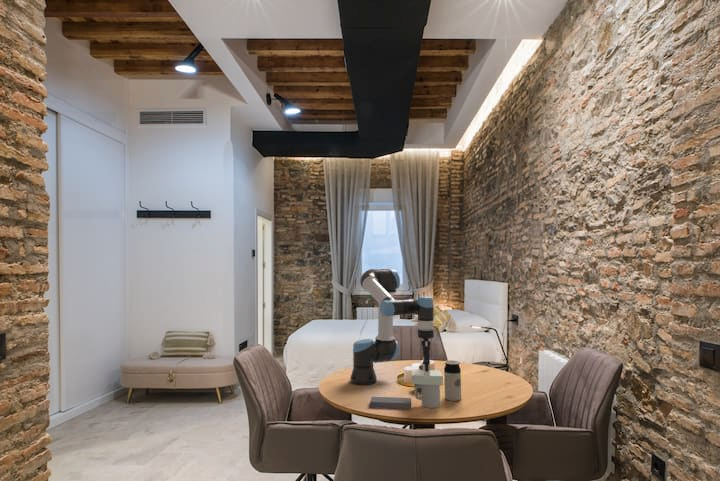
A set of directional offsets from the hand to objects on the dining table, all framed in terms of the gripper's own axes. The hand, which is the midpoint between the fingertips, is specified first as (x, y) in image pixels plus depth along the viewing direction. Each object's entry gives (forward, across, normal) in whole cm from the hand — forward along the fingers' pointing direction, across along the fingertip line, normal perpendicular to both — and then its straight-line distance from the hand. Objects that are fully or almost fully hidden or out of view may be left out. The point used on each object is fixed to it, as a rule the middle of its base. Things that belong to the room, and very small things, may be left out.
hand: (426, 374), depth 193 cm
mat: (+14, -2, +17) cm, 22 cm away
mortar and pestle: (+15, +24, +2) cm, 29 cm away
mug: (+14, 0, 0) cm, 14 cm away
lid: (+3, 0, 0) cm, 3 cm away
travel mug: (+14, +10, -13) cm, 22 cm away
